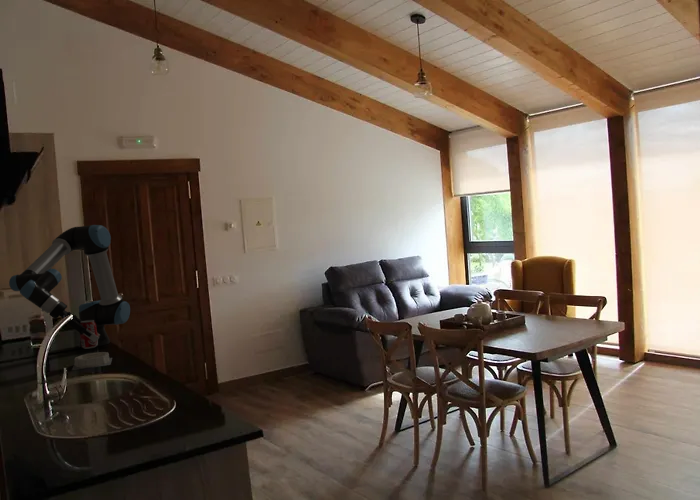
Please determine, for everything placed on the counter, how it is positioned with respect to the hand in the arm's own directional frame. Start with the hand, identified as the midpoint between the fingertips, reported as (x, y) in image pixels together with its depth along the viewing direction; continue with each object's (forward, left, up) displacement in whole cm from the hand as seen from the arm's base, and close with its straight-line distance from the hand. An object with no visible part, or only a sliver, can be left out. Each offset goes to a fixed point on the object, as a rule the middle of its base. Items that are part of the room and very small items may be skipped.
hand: (97, 338), depth 277 cm
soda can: (0, -4, -4) cm, 5 cm away
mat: (0, -3, -11) cm, 12 cm away
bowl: (0, -3, -11) cm, 12 cm away
